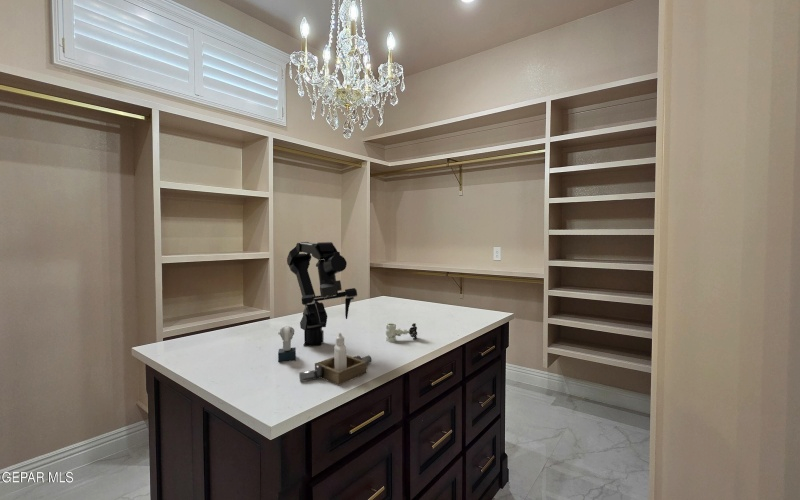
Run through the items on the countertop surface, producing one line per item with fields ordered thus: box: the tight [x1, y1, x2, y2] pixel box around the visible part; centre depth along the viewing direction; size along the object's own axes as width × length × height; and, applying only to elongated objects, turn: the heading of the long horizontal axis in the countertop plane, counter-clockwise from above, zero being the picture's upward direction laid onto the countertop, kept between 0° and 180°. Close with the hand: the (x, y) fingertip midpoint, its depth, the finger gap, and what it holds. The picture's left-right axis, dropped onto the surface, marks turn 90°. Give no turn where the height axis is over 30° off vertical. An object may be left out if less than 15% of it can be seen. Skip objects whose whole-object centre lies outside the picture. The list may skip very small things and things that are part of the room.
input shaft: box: [353, 354, 373, 365], centre depth 112 cm, size 6×4×4 cm, turn 140°
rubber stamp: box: [277, 325, 297, 363], centre depth 118 cm, size 6×8×11 cm
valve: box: [385, 322, 418, 343], centre depth 139 cm, size 7×7×12 cm
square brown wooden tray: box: [314, 355, 368, 386], centre depth 106 cm, size 11×11×4 cm
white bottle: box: [333, 332, 347, 371], centre depth 105 cm, size 4×6×12 cm
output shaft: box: [298, 365, 323, 382], centre depth 102 cm, size 6×4×4 cm, turn 114°
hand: (333, 321), depth 120 cm, fingers open, 9 cm apart
